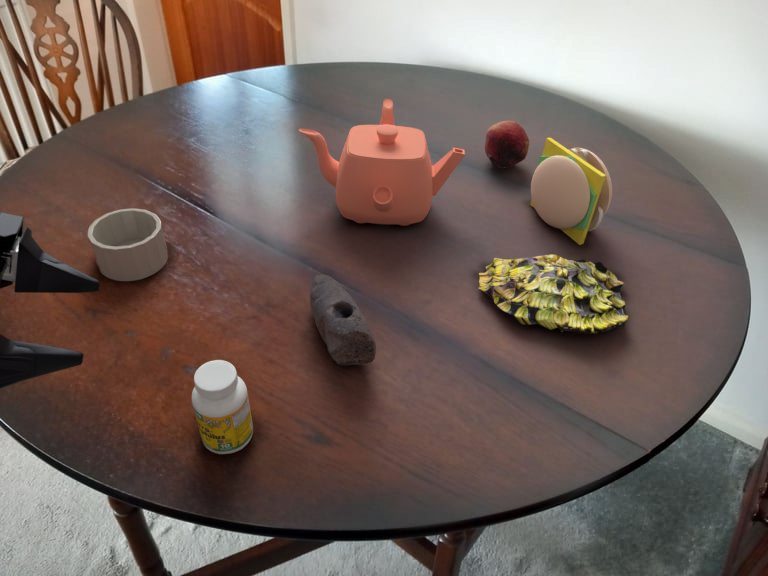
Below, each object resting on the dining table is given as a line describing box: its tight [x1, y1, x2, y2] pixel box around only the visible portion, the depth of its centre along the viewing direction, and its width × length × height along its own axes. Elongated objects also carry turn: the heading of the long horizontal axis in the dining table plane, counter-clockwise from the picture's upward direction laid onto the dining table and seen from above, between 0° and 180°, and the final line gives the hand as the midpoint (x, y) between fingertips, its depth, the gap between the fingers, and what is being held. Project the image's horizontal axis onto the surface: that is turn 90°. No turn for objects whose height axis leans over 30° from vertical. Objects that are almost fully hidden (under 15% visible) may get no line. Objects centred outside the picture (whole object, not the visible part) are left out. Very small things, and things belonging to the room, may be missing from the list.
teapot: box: [298, 98, 466, 227], centre depth 94 cm, size 18×18×14 cm
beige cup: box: [87, 207, 169, 282], centre depth 84 cm, size 9×9×6 cm
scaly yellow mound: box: [478, 254, 630, 335], centre depth 84 cm, size 20×16×7 cm
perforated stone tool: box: [309, 273, 377, 367], centre depth 75 cm, size 15×5×7 cm, turn 22°
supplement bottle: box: [191, 359, 254, 455], centre depth 62 cm, size 5×5×10 cm
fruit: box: [484, 120, 530, 169], centre depth 108 cm, size 8×8×8 cm
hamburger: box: [529, 137, 613, 246], centre depth 95 cm, size 12×8×12 cm
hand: (91, 320), depth 55 cm, fingers open, 9 cm apart
